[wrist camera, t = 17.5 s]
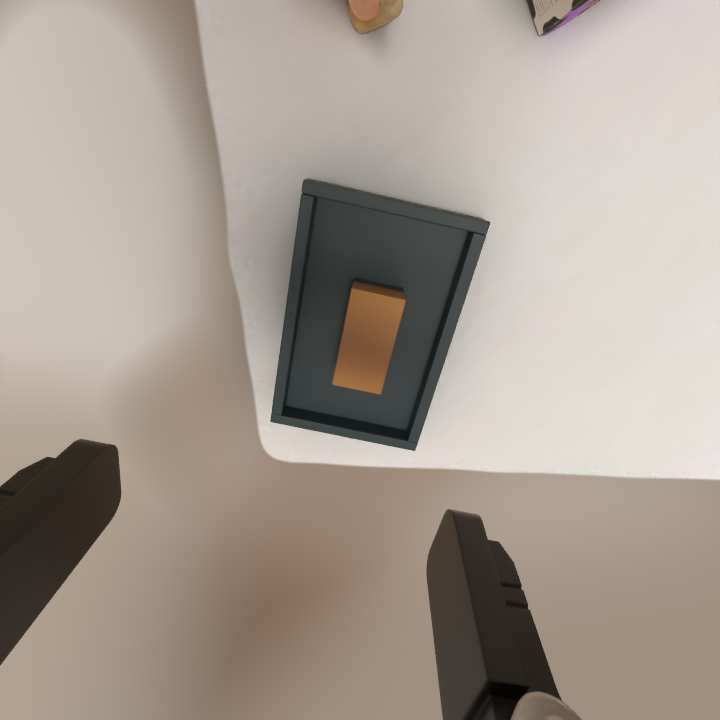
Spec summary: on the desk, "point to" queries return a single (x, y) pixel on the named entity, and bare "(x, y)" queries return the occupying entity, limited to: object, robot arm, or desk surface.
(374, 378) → the eraser
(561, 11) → the candy box
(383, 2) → the grandmother figurine
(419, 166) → the desk surface
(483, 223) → the tray
